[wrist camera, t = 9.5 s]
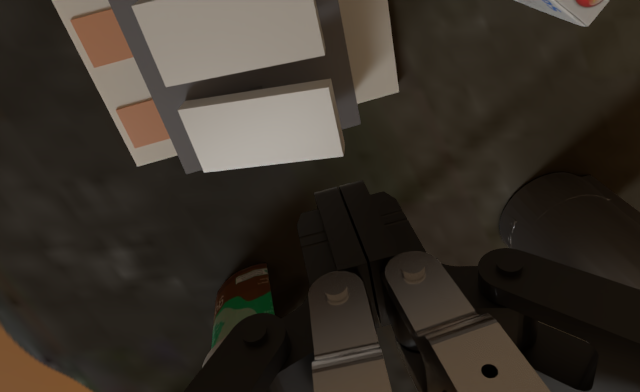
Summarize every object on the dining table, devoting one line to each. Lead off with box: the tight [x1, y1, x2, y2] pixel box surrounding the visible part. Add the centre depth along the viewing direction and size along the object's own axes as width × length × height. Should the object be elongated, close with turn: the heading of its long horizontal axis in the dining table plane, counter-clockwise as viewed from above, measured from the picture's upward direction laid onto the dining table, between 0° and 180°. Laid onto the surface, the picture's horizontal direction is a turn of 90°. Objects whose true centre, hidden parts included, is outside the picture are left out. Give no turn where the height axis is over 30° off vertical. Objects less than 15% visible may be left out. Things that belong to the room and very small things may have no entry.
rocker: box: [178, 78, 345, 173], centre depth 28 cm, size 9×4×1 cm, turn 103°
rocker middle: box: [131, 0, 326, 87], centre depth 25 cm, size 9×4×1 cm, turn 102°
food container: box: [202, 263, 275, 367], centre depth 41 cm, size 12×6×10 cm, turn 178°
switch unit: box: [52, 0, 399, 174], centre depth 28 cm, size 20×18×6 cm
